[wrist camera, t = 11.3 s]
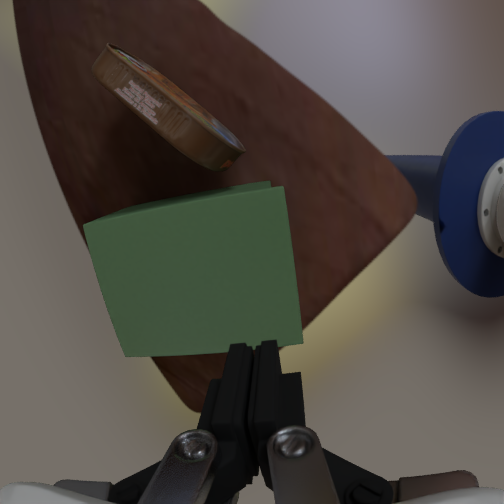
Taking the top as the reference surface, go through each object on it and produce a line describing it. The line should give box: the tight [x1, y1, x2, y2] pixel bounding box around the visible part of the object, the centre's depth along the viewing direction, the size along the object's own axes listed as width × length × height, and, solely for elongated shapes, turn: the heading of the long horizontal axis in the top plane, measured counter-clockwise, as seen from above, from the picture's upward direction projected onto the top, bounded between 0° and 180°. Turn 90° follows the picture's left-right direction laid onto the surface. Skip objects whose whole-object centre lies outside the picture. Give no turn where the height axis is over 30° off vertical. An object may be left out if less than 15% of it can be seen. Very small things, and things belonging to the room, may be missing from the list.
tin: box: [91, 43, 246, 171], centre depth 22 cm, size 15×3×8 cm, turn 47°
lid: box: [83, 186, 303, 357], centre depth 21 cm, size 14×11×1 cm
